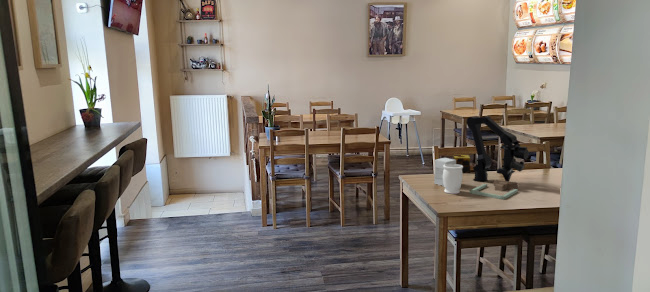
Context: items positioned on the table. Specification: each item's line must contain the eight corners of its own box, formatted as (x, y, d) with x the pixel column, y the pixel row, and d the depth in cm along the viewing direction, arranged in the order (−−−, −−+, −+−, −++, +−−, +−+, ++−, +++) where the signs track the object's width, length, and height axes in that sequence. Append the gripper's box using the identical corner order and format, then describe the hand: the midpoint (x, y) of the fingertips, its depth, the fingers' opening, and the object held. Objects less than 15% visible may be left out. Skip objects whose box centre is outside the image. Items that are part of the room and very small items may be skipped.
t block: (496, 184, 280) (496, 179, 279) (517, 187, 272) (517, 182, 272) (487, 188, 271) (488, 183, 271) (509, 192, 263) (509, 187, 263)
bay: (469, 193, 263) (469, 190, 262) (484, 186, 276) (484, 183, 276) (503, 199, 250) (503, 196, 250) (517, 192, 264) (517, 189, 264)
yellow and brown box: (470, 173, 308) (470, 158, 306) (453, 172, 310) (454, 157, 308) (468, 169, 317) (469, 154, 316) (453, 169, 320) (453, 154, 318)
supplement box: (443, 181, 288) (444, 157, 285) (455, 184, 280) (456, 159, 278) (433, 184, 282) (434, 159, 280) (445, 187, 275) (446, 161, 273)
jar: (462, 190, 269) (463, 164, 266) (461, 195, 259) (462, 168, 256) (443, 188, 272) (443, 163, 269) (441, 193, 262) (442, 167, 260)
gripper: (517, 161, 261) (515, 188, 264) (529, 155, 275) (527, 182, 278) (497, 158, 269) (495, 185, 272) (509, 153, 282) (508, 179, 285)
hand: (507, 183), depth 276 cm, fingers closed
